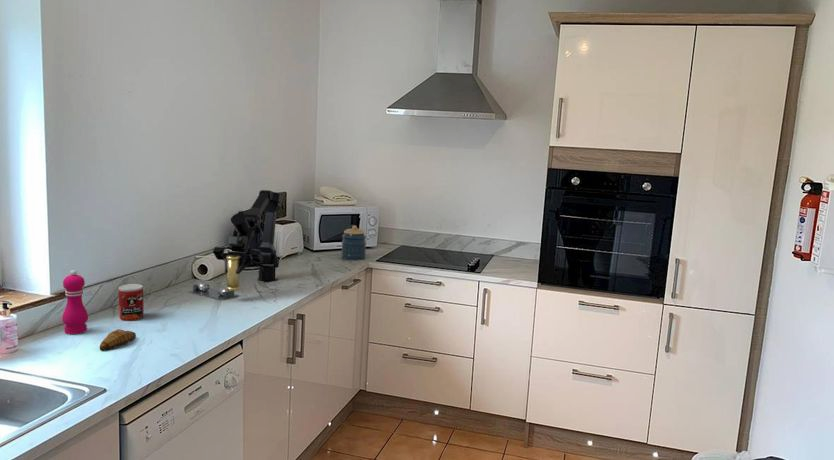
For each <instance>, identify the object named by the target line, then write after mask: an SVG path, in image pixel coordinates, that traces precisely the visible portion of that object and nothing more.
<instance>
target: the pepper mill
mask: <svg viewBox="0 0 834 460" xmlns="http://www.w3.org/2000/svg"><path fill="white" fill-rule="evenodd" d="M69 273H70V274H69V275H68V276H67V275H66V276H65V277H64V278H63V281H62V287H63V288H64V289H65V290H64V291H65V292H64V293H65V295H64V296H66V299H67V300H66V304H65V305H66V306H65V308H64V311H63V313H62V316H61V317H62V319H61V320H62V321H61V322H62V323H63V324H64V325H65V326H64V327H63V328H64V333H65V334H67V335H79V334H82V333H85V332H87V331H88V325H87V324H86V323H87V322H88V320H89V314H88V311H87V310H86V308H85V305H84V304H83V298H82V297H83V294H84V289H83V288H84V287H85V282H86V280H85V279H84V277H83V276H81V275H79V274H77V273H78V271H77V270H76V269H72V270H70V272H69Z"/></svg>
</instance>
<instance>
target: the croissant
mask: <svg viewBox="0 0 834 460" xmlns="http://www.w3.org/2000/svg"><path fill="white" fill-rule="evenodd" d="M136 336H137V334H136V332H134V331H131V330H123V329H121V328H120V329H115V330H113V331H111V332H109V333H108V334H107V336H106V337H105V338H103V340H102V341H101V342H100V344H99V350H100V351H109V350H113V349H115V348H118V347H121V346H125V345H127V344H128V343H129V342H133V340H135V338H136Z"/></svg>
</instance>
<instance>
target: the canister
mask: <svg viewBox="0 0 834 460" xmlns="http://www.w3.org/2000/svg"><path fill="white" fill-rule="evenodd" d="M365 234H366V232H365V231H364V230H363V229H362V228H358V226H357V225H352V227H351V228H346V229H345V230H344V231H343V234H342V235H341V237H342V241H341V258H342V257H343V258H342V259H344V258H347V259H346V260H348V259H361V260H363V259H362V258H366V255H367V254H366V251H367V250H366V249H367V241H366V238H367V235H365Z"/></svg>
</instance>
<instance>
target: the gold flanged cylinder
mask: <svg viewBox="0 0 834 460" xmlns="http://www.w3.org/2000/svg"><path fill="white" fill-rule="evenodd" d="M226 259H227V273H226V275H227V276H226V282H227V283H226V288H225V289H227V290H230V291H234V292H235V291H239V290H240V289H241V285H240V273H239V274H237V270H238V267H239V265H240V260H241V257H240V255H227V256H226Z"/></svg>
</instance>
